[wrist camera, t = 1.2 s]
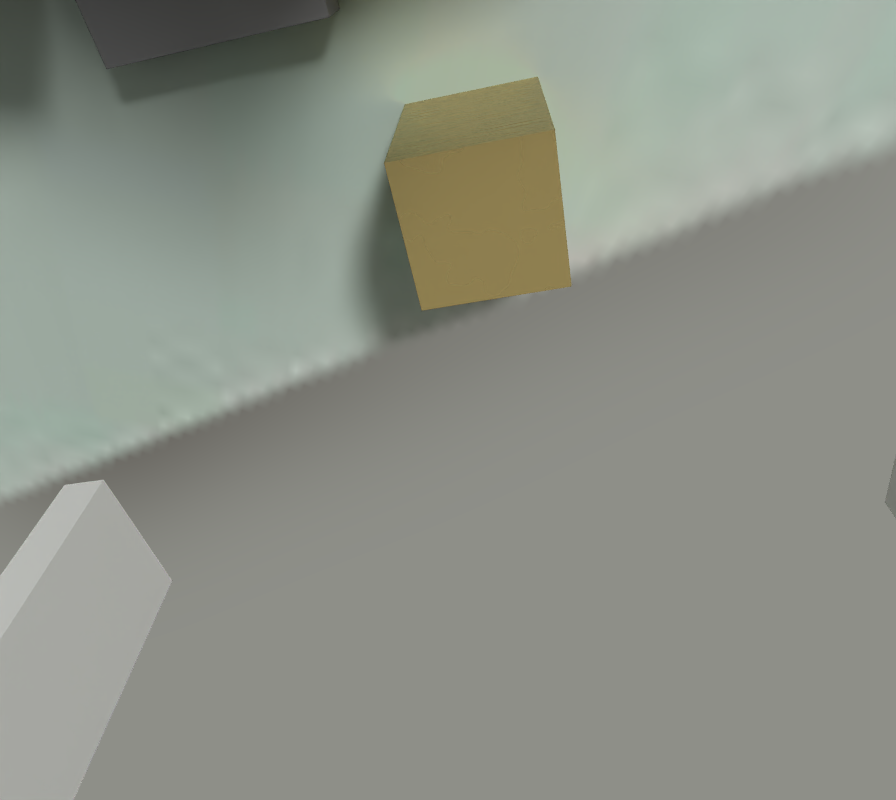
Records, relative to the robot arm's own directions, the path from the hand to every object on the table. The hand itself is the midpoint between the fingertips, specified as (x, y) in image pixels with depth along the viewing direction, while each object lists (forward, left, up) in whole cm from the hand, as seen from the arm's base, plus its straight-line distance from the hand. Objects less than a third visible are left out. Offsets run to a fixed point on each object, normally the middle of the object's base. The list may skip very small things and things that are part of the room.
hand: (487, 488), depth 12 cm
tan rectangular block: (0, 0, -19) cm, 19 cm away
